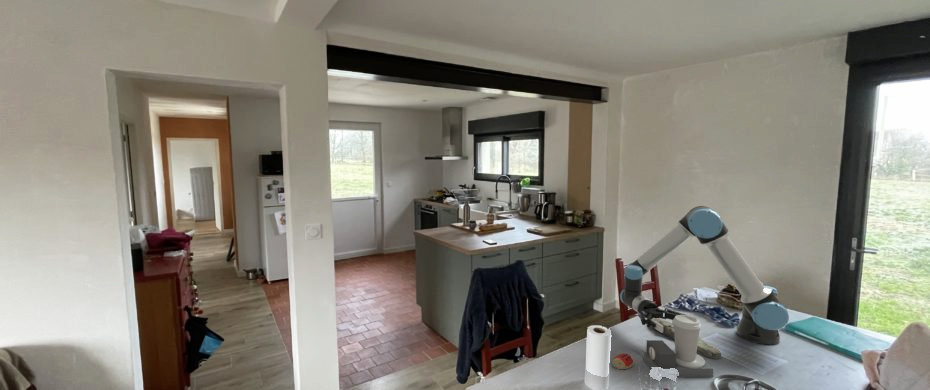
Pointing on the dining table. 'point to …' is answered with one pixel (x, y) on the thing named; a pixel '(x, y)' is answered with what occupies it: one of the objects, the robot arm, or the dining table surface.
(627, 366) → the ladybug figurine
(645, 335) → the dining table surface
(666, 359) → the kitchen scale
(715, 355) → the elongated rock
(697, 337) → the coffee cup
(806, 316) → the dining table surface
